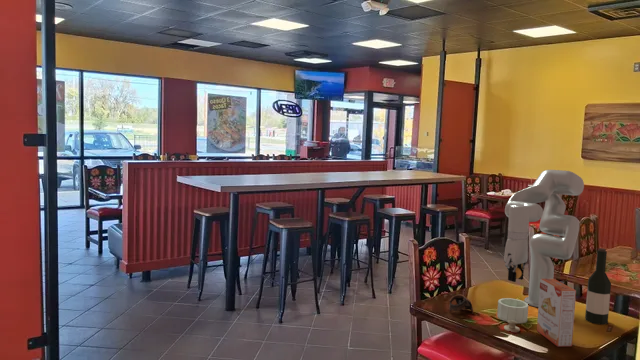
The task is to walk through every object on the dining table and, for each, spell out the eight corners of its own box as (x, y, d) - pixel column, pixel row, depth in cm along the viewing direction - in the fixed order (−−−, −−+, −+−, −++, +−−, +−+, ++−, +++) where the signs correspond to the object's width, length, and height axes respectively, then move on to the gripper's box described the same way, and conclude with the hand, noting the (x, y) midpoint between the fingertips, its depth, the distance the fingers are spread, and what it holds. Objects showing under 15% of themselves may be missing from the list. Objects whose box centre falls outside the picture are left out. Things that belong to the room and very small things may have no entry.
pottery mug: (477, 317, 198) (470, 301, 196) (455, 325, 200) (448, 309, 198) (470, 300, 210) (463, 285, 207) (450, 308, 211) (443, 293, 209)
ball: (513, 276, 197) (514, 265, 197) (523, 278, 194) (524, 268, 193) (507, 277, 195) (508, 267, 194) (517, 280, 191) (518, 270, 191)
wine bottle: (588, 315, 203) (594, 245, 200) (610, 321, 197) (616, 249, 194) (581, 320, 197) (587, 248, 194) (604, 326, 191) (610, 252, 189)
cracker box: (535, 331, 184) (539, 277, 182) (550, 331, 185) (554, 278, 183) (556, 347, 170) (560, 289, 168) (572, 347, 171) (577, 289, 169)
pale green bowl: (508, 311, 205) (509, 296, 205) (533, 319, 196) (534, 304, 195) (491, 316, 199) (492, 301, 198) (516, 325, 189) (517, 309, 189)
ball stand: (509, 325, 189) (510, 318, 189) (522, 330, 185) (523, 322, 184) (501, 328, 186) (501, 320, 186) (514, 333, 181) (514, 325, 181)
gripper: (521, 231, 200) (518, 274, 202) (497, 236, 190) (494, 281, 192) (538, 234, 194) (535, 278, 196) (514, 240, 184) (511, 286, 186)
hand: (515, 279), depth 194 cm, fingers closed on ball, 4 cm apart
